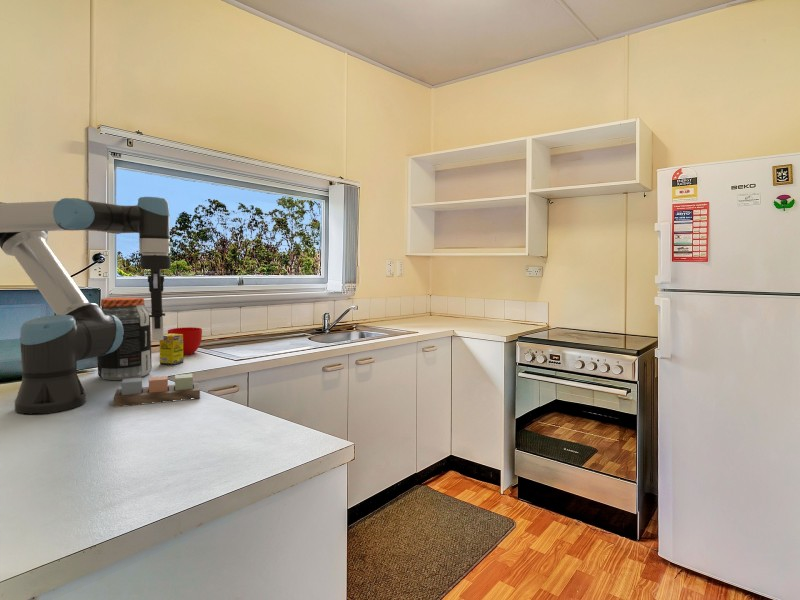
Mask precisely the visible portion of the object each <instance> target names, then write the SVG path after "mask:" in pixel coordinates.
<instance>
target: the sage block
mask: <svg viewBox="0 0 800 600" xmlns="http://www.w3.org/2000/svg"><path fill="white" fill-rule="evenodd" d="M193 383H194V377H193V373H184V374H175V375H174V385H175V390H187V389H193Z"/></svg>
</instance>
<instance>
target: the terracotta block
mask: <svg viewBox="0 0 800 600" xmlns="http://www.w3.org/2000/svg"><path fill="white" fill-rule="evenodd" d="M168 377H169V376H168V375H158V376H149V378H148V387H149V393H153V392H164V391H168V385H169V384H168V383H169V378H168Z"/></svg>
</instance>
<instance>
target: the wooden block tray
mask: <svg viewBox="0 0 800 600" xmlns="http://www.w3.org/2000/svg"><path fill="white" fill-rule="evenodd" d="M191 398H200V399H201V389H200V383H199V382H193V389H187V390H175V384H168V391H164V392H153V393H149V386H142V393H141V394H130V395H122V389H121V388H119V389H116V392H115V394H114V395H113V407H114V406H120V407H124V406H123V405H130V406H134V405H133V404H140V405H143V404H142V403H151V404H153V403H152V402H161V403H164V402H163V401H171V402H174V401H173V400H181V399H191Z"/></svg>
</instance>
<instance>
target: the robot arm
mask: <svg viewBox="0 0 800 600" xmlns="http://www.w3.org/2000/svg"><path fill="white" fill-rule="evenodd" d="M170 216H171V214H170V208H169V201H168V199H166V198H163V197H158V196H141V197H140V196H139V198H138V199H137V204H136V205H122V204H121V205H119V204H113V203H108V202H107V203H105V202H101V201H100V202H98V201H92V200H86V199H81V198H77V197H76V198H74V197H64V198H61V199H60V200H51V201H45V200H44V201H26V202H25V201H24V202H22V201H21V202H0V248H1V250H2V252H3V253H4V254H6V255H7V256H12V257H14V258H15V259H16V260H17V262H18V263H19V265H20V266H21V268H22V269H23V270H24V272H25V274H26V275H27V276H28V277H29V279H30V280H31V282H32V283H33V285H34V286H35V287H36V289H38V291H39V293H40V294H41V296H42V297H43V298H44V300H45V301H46V302H47V304H48V305H49V307H50V308H51V310H52V311H53V312H54V315H48V316H40V317H36V318H32V319H29V320H26V321H25V322H24V323H22V325H21V327H20V336H19V343H20V355H21V356H20V357H21V373H22V375H21V376H22V378H21V383H20V387H19V389H18V392H17V395H16V398H15V401H14V411H15V413H17V412H18V414H21V413H27V414H26V415H33V414H32V413H45V414H49V413H48V412H53V413H59V412H64V411H68V410H71V409H75V408H77V407H80V406H82V405H84V404H85V403H86V402H87V401H86V399H87V397H86V392H85V390H84V387H83V385H82V382H81V381H80V378H79V376H78V370H77V369H78V367H77V365H78V364H77V361H82V360H87V359H92V358H95V357H96V358H97V356H103V355H106V354H108V353H111V352H113V351H115V350H116V349H117V348H118V347H119V346H120V345H121V343H122V340H123V334H124V330H123V325H122V323H121V321H120V320H119V319H118V318H117V317H116V316H114V315H111V314H104V313H103V311H102V310H101V308H102V307H100V305H98V304H97V303H92V302H89V300H88V299H87V298H86V296H85V295H84V293H83V292H82V291H81V289H80V288H79V286H78V285H77V284H76V282H75V281H74V279H73V278H72V277H71V275H70V273H68V272H67V271H68V270H66V269H65V267H64V266H63V265H62V263H61V261H60V260H59V258H57V256H56V255H55V253H54V252H53V251H52V249H51V248H50V247H49V245H48V244H47V241H48V234H49V232H59V231H60V232H62V231H71V232H72V231H73V232H74V231H90V232H91V231H93V232H105V233H108V234H138V235H139V236H138V243H139V244H138V245H139V246H138V247H139V249H138V250H139V254H141V255H140V257H139V265H140V269H142V270H150V275H148V276H147V282H148V292H149V293H150V304H151V312H150V315H149V317H150V318H151V334H152V335H151V342H152V341H153V342H154V341H155V342H156V341H159V340H163V339H164V338H163V335H164V317H166V312H165V313H164V310H163V292H164V282H165V276H164V275H162V273H161V272H162V271H161V270H170V269H171V268H172V267H171V266H172V263H171V262H172V261H171V260H172V259H171V256H170V255H169V254H170V253H171V247H172V246H173V243H172V242H171V241H170V240H171V239H170V238H171V237H170ZM58 411H59V412H58ZM28 413H29V414H28ZM30 413H31V414H30Z"/></svg>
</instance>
